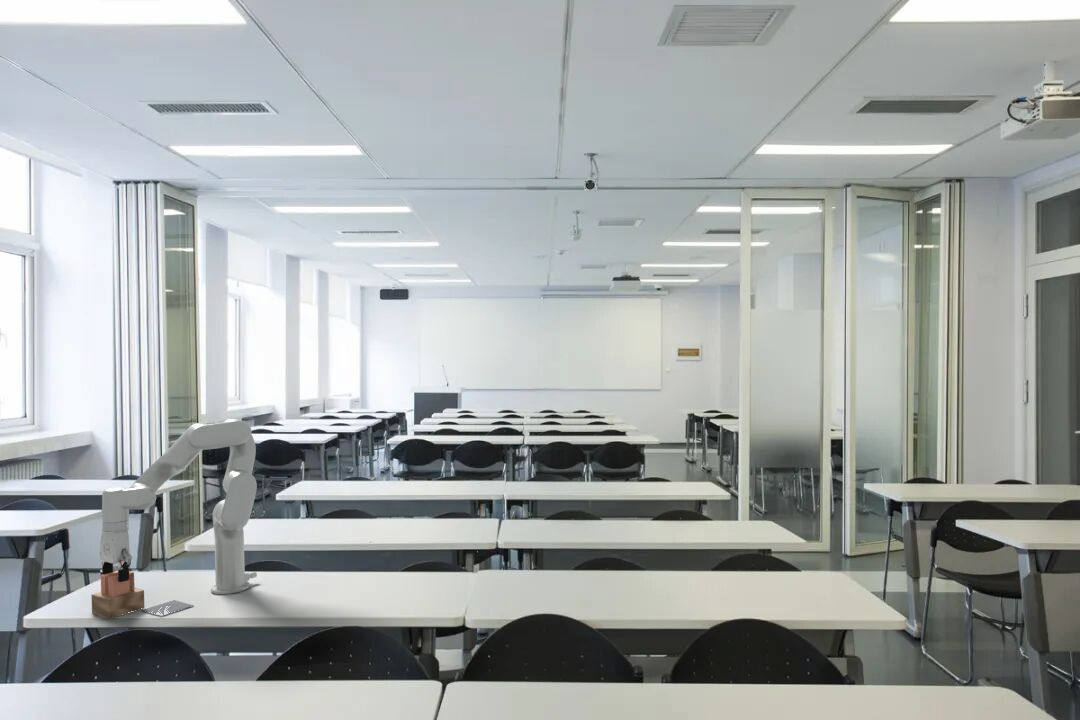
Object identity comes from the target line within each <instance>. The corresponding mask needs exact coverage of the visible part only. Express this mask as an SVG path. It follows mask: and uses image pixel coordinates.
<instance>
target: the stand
mask: <svg viewBox="0 0 1080 720" xmlns="http://www.w3.org/2000/svg"><path fill="white" fill-rule="evenodd" d="M134 588H135V591H132V592H129V593H125V594H122V595H118V596H115V597H111V596H109V594H106V595H104V594H101V591H99V592H95V593H93V594H92V593H91V614H93V613H94V615H96V616H100V617H103V618H107V619H109V620H110V619H113V618H114V617H115V618H118V617H120V615H121V616H123V615H122V614H124V615H126V614H125V613H128V612H131V611H134V612H136V611H135V610H137V611H139V610H138V609H141V608H144V609H145V590H144V589H141V588H137V587H134ZM141 610H142V609H141ZM131 613H132V612H131ZM128 614H129V613H128ZM117 616H118V617H117Z"/></svg>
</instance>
